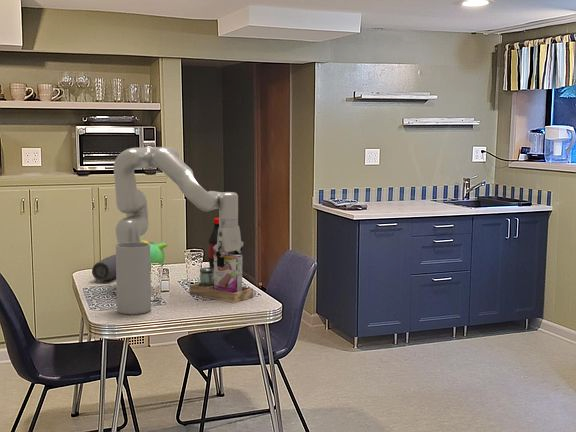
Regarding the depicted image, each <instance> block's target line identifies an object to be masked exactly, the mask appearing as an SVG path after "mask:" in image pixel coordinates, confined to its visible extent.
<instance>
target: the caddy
mask: <svg viewBox="0 0 576 432" xmlns="http://www.w3.org/2000/svg"><path fill="white" fill-rule="evenodd" d="M189 295H194V296H199V297H203V298H209V299H212V300H218V301H223V302H227V303H232V304H235V303H239V302H242V301H246V300H249V299H253V298H254V288H253V287H247V286H242V291H240V292H236V293H230V292H225V291H220V290H215V289H213V286H210V287H206V288H205V287H200V282H197V283H194V284H190V285H189Z"/></svg>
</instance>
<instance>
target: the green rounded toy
mask: <svg viewBox="0 0 576 432" xmlns="http://www.w3.org/2000/svg"><path fill="white" fill-rule="evenodd" d="M140 242H143V243H149V244H150V258H151V263H159V264H162V265H163V264H164V262H165V258H166V255H165V250H164V249H165V248H166V247H168V246H169V244H168V243H165V242H164V241H163V242H160V243H157V242H153V241H150V240H149V241H148V240H144V239H140Z"/></svg>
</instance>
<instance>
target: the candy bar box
mask: <svg viewBox="0 0 576 432" xmlns="http://www.w3.org/2000/svg"><path fill="white" fill-rule="evenodd" d="M223 257H224V267H218V266H217V257H216V255H215V254H214V255H213V289H215V290H220V291H225V292H230V293H236V292H240V291H242V287H243V254H240V255H235V254H233V253H228V254H225V253H224V255H223Z"/></svg>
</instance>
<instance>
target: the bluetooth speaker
mask: <svg viewBox="0 0 576 432" xmlns="http://www.w3.org/2000/svg"><path fill="white" fill-rule="evenodd" d="M91 275H92V276H93V277H94V279H95V280H97V281H101V282H108V281H109V282H110V281H113V280H114V279H115V280H116V253H115V254H112V255H109V256H107V257H105V258H103V259H101V260H100V261H97V262H96V263H95V264H94V265H93V267H92V269H91Z"/></svg>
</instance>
